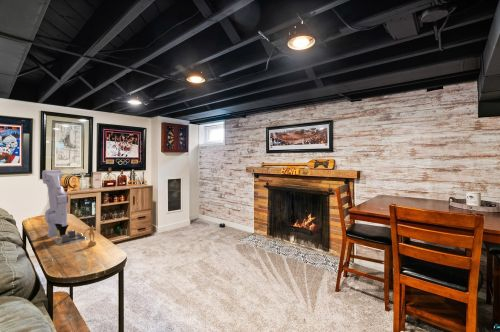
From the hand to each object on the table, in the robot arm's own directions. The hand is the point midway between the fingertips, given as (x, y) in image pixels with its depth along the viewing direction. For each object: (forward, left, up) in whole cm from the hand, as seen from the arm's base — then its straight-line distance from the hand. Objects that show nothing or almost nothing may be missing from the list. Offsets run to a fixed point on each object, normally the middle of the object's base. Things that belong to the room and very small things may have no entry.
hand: (61, 235), depth 151 cm
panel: (+5, +3, -3) cm, 7 cm away
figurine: (+25, +9, -3) cm, 27 cm away
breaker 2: (0, +5, -2) cm, 5 cm away
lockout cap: (0, 0, 0) cm, 0 cm away
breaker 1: (+8, 0, -2) cm, 8 cm away
